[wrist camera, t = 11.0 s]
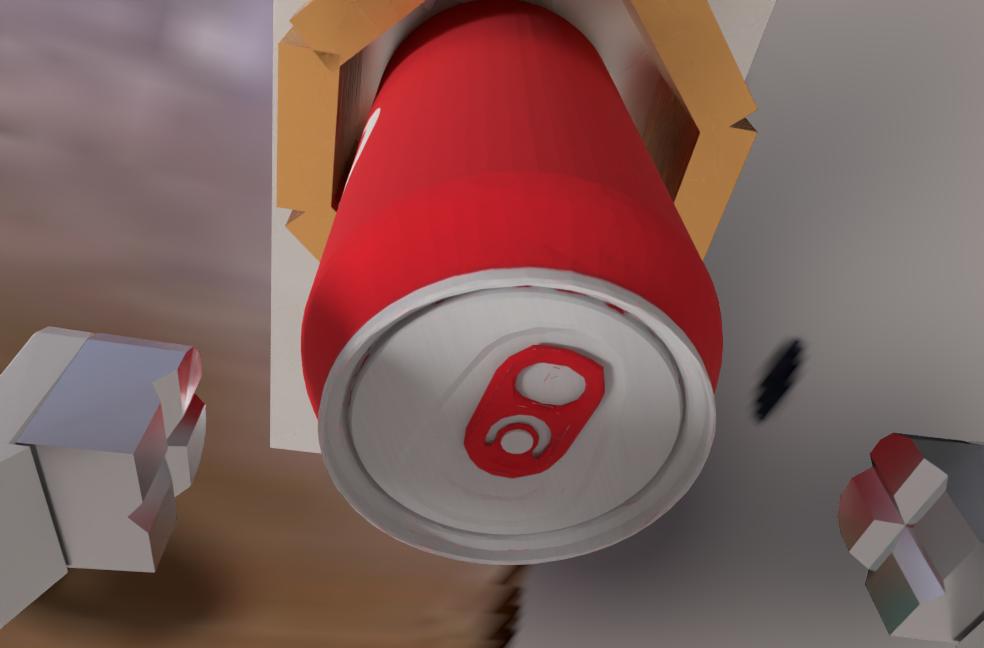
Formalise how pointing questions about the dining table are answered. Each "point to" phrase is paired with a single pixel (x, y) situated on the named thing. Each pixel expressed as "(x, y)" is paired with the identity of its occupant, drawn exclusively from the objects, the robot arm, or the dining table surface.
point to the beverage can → (509, 303)
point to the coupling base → (354, 82)
